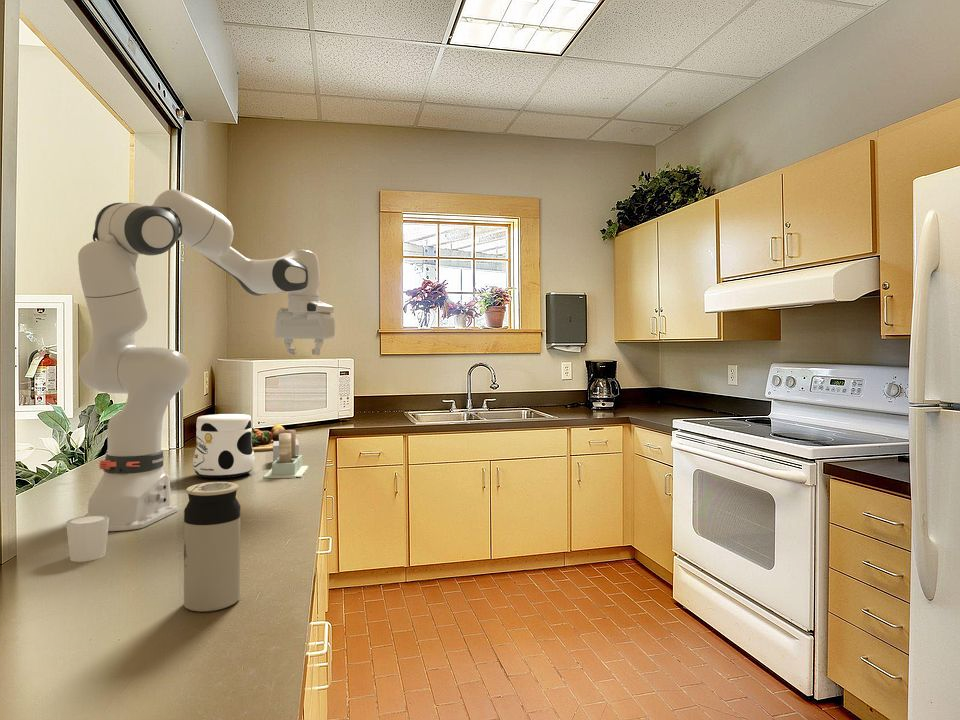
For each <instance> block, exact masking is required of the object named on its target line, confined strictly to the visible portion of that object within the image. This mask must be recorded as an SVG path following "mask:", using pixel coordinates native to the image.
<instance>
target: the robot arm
mask: <svg viewBox="0 0 960 720" xmlns="http://www.w3.org/2000/svg"><path fill="white" fill-rule="evenodd" d="M92 240H93V241H91V242H89V243H86V244H85V245H83V246H81V248H80V249H79V251H78V254H77V261H78V262H77V263H78V264H77V265H78V273H79V279H80V284H81V289H82V291H83V296H84V298H85V302H86V306H87V310H88V313H89V317H90V321H91V328H92V338H91V339H92V340H91V344H90V347H89V349H88V350H87V352H86V353H84V354H83V356H82V357H81V359H80V362H79V364H78V376H79V379H80V381H81V383H82V384H83V385H84V386H85V387H86V388H88V389H90V390H94V391H98V392H102V393H106V394H126V395H127V399H126V402H125V405H124V407H123V408H122V409H121V411H118V412H117V413H115V414H113V415H112V416H111V417H110V419H109V420H108V422H107V454H105V457H104V458H105V459H104V460H103V459H102V460H100V461H99V463H98V468H99V470H102V472H103V474H102V476H101V477H100V479H99V481H98V482H97V485H96V487H95V488H94V490H93V491H92V493H91V495H90V497H89V498H88V505H87V513H86V514H85V515H84V516H91V515H104V516H108V517H109V526H108V532H116V531H117V532H118V531H129V530H130V531H131V530H137V529H143V528H145V527H147V526H149V525H152V524H154V523H155V522H158V521H160V520H162V519H164V518H166V517H168V516H170V515H173V514H174V513H177V512H178V506H176V505H173V504H172V494H171V493H172V492H171V483H170V482H171V480H170V479H171V478H170V476H169V474H167V473H166V472H165V470H164V469H163V466H164V459H165V458H164V457H165V456H164V451H163V450H162V432H163V420H164V415H165V412H166V410H167V407H168V406H169V403H170V402H171V400H172V399H173V398H174V397H175V395H176V394H177V393H178V392H180V391H181V390H183V389H184V387H185V386H186V385H187V383H188V381H189V380H190V379H189V378H190V376H191V375H190V374H191V369H190V363H189V361H188V359H187V357H186V356H185V355H184V354H183V353H182V352H180V351H177V350H173V349H169V348H164V347H159V346H158V347H149V346H148V347H145V346H142V347H141V346H137V345H136V341H135V336H136V335H135V333H137V332H138V331H140V330H141V328H143V327H144V326H145V324H146V323H147V320H148V313H147V309H146V304H145V300H144V297H143V293H142V289H141V285H140V281H139V278H138V276H137V267H136V265H137V260H138V257H139V255H145V256H158V255H162V254H164V253H166V252H168V251H169V250H171V249H172V247H174V245H175V244H176V242H177V241H179V242H181V243H183V244H184V245H186V246H188V247H189V248H192V249H193V250H194V251H196V252H197V253H199V254H201V255H202V256H203V257H204V258H205V259H207V260H208V261H210V262H211V263H213V264H214V265H216V266H217V267H218V268H220V269H221V270H222V271H224V272H226V273H227V274H228V275H230V276H232V277H233V278H234V279H235V280H236V281H237V282H238V283H239V284H240V286H241V288H243V289H244V291H245V292H247V293H248V294H250V295H251V296H256V297H258V296H265V295H271V294H287V307H280V309H278V310H277V312H276V317H275V321H274V333H273V335H274V337H275V339H278V340H279V339H280V340H283V341H284V342H283V343H284V345H285V347H286V349H287V351H286V352H287V353H286V354H287V355H292V356H295V355H296V348H294V346H293V344H292V343H294V340H314V344H315V345H314V348H311V355H312V356H320V355H321V349H322V347H323V345H324V340H332V339H333V338H334V336H335V329H336V328H335V327H336V325H335V317H334V315H333V313H334V311H335V309H334V306H333V305H330V304H328V303H325V302H323V301H320V300H321V299H320V292H319V286H320V283H321V274H320V273H321V272H320V263H319V258H318V256H317V254H316V253H315V252H313V251H311V250H308V249H302V248H296V249H292V250H291V251H290V252H289V253H287V254H285V255H283V256H279V257H276V258H268V259H251V258H247V257H246V256H244V255H243V254H241V253H240V252H239V251H238V250H236V249H235V248H233V247H232V243H233V240H234V227H233V224H232V223H231V221H230V220H229V219H228V218H227V217H226V216H225V215H223V213H221V212H219V211H218V210H216V209H215V208H213V207H212V206H210V205H209V204H207V203H206V202H204V201H203V200H200V199H198V198H196V197H194V196H192V195H190V194H189V193H186V192H183V191H180V190H179V189H167V190H164V191H163V192H161V193H160V194H159V195H157V197H156V198H155V200H154V202H153V203H152V204H151V205H148V204H147V205H146V204H142V203H136V202H113V203H110V204H108V205H106V206H104V207H103V208H102V209H100V211H99V212H98V214H97V215H96V218H95V221H94V230H93V234H92Z"/></svg>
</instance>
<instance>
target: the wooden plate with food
mask: <svg viewBox="0 0 960 720" xmlns="http://www.w3.org/2000/svg"><path fill="white" fill-rule="evenodd" d="M284 430H286V429H285V427H283V426H282V425H281V424H279V423H276V424H274V425H273V427H272V429H271V430H270V431H269V430H260V429H256V428H254V429H252V436H251V442H252V448H253V451H254V453H263V452H264V453H265V452H273V442H274V441H279V434H280V433H284ZM297 440H298V439H297V438H296V441H297Z"/></svg>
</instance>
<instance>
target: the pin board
mask: <svg viewBox="0 0 960 720" xmlns="http://www.w3.org/2000/svg"><path fill="white" fill-rule="evenodd" d="M284 433H291V463H279V457H278V458H277V460H275V461H274V462H273V461H272V463H271V468H270V470H269V471H267V472H266V473H265V474H264V475H263V477H262V478H263V479H297V478H296V477H301V478H303V476H304V475H305V473H306V472H307V471H308V469H309V467H310V465H303V454H299V455H296V439H297V438H296V436H297V431H296V429H285V430H284ZM306 470H307V471H306ZM303 474H304V475H303Z"/></svg>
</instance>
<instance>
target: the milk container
mask: <svg viewBox="0 0 960 720" xmlns="http://www.w3.org/2000/svg"><path fill="white" fill-rule="evenodd" d="M195 426H196V431H195V433H196V435H195V436H196V439H195V440H196V446H195V451H194V454H193V457H192V466H193V467H192V468H193V471H194V473H195V474H196V475H198V476H199V477H202V478H208V479H226V478H227V479H229V478H237V477H241V476H244V475H247V474H248V473H250V472H252V470H253V469H254V466H255V461H256V460H255V459H256V458H255V452H254V451H253V448H252V442H251V436H252V431H253V429H252V417H251V415H250V414H245V413H243V414H242V413H241V414H240V413H218V414H216V413H215V414H206V415H200V416H198V417H197V418H196V425H195Z"/></svg>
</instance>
